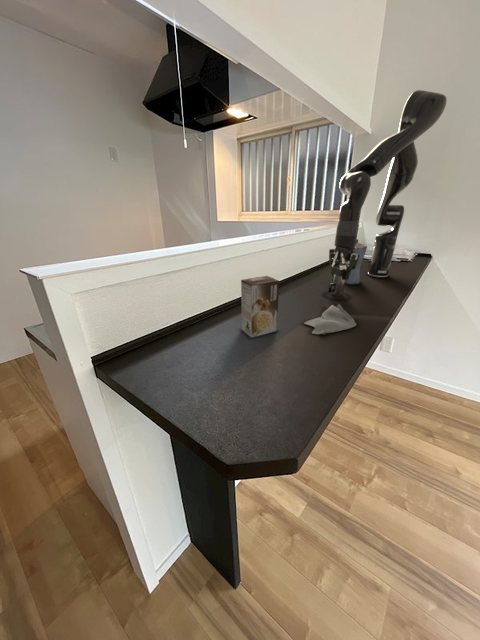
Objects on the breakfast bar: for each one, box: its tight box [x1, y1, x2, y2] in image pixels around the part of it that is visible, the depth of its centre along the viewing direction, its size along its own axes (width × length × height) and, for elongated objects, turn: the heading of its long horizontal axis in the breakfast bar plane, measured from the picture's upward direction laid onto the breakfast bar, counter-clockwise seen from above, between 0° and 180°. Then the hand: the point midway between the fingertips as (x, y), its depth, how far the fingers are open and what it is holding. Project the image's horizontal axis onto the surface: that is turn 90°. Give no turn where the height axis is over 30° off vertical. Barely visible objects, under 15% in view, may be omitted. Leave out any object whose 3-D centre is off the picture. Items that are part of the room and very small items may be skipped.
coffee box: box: [240, 275, 280, 339], centre depth 77 cm, size 9×6×16 cm
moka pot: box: [345, 238, 368, 285], centre depth 120 cm, size 10×15×20 cm, turn 158°
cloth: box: [303, 303, 357, 336], centre depth 86 cm, size 26×14×2 cm, turn 139°
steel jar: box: [328, 265, 351, 297], centre depth 105 cm, size 7×5×11 cm
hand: (339, 277), depth 104 cm, fingers closed on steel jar, 5 cm apart
